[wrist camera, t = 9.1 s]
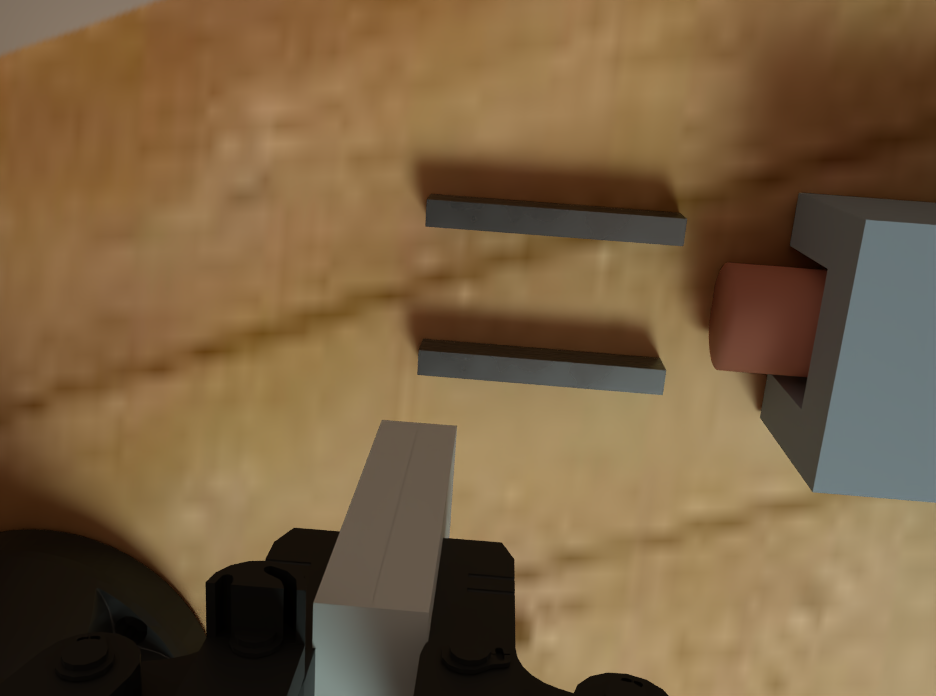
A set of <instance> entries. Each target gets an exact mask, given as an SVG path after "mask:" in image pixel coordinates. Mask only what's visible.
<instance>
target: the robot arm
mask: <svg viewBox="0 0 936 696" xmlns="http://www.w3.org/2000/svg"><path fill="white" fill-rule="evenodd" d="M456 433H457V426H452V425H439V424H426V423H414V422H401V421H389V420H382V421H381V424H380V426H379V429H378V432H377V434H376V437H375V440H374V442H373V445H372V448H371V450H370V453H369V456H368V458H367V461H366V464H365V466H364V469H363V472H362V474H361V477H360V480H359V482H358V485H357V488H356V490H355V493H354V496H353V498H352V501H351V504H350V506H349V509H348V512H347V514H346V517H345V520H344V522H343V525H342V528H341V530H340V532H339V531H327V530H315V529H302V528H293V529H292V530H290V531H289V532H288V533H286V534H285V535H283V536H282V537H280V538H279V539H278V540H276V541H275V542H274V543H273V545H272V547H271V549H270V551H269V553H268V555H267V557H266V561H248V562H243V563H239V564H234V565H230V566H228V567H226V568H224V569H222V570H220V571H218V572H216V573H215V574H214V575H213V576H212V577H211V578H210V579H209V580H208V581H207V582H206V630H207V637H206V635H205V633H204V631H203V629H202V627H201V626H200V624H199V622H198V620H197V619H196V617H195V616H194V614H193V613H192V611H191V610H190V609H189V607H188V606H187V605H186V604H185V602H184V601H183V600H182V599H181V598H180V596H179V595H178V594H177V593H176V592H175V591H174V590H173V589H172V588H171V587H170V586H169V585H168V584H167V583H166V582H165V581H164V580H162V579H161V578H160V577H159V576H158V575H156V574H155V573H154V572H153V571H151V570H150V569H149V568H147V567H146V566H144V565H143V564H141V563H140V562H138V561H137V560H135V559H134V558H132V557H130V556H128V555H126V554H125V553H123V552H121V551H119V550H117V549H115V548H113V547H110V546H108V545H106V544H103V543H101V542H98V541H95V540H92V539H89V538H86V537H82V536H78V535H74V534H70V533H64V532H59V531H51V530H36V529H31V530H12V531H5V532H0V696H668V695H667V693H666V692H665V691H664V690H663V689H661V688H659V687H658V686H656V685H654V684H653V683H651V682H649V681H648V680H645V679H642V678H639V677H635V676H632V675H629V674H620V673H604V674H599V675H595V676H590V677H589V678H587V679H586V680H584V681H583V682H581V683H580V684H578V685H577V687H576V690H575V692H574V693H571V692H568V691H565V690H561V689H558V688H556V687H553V686H551V685H548V684H546V683H544V682H542V681H540V680H539V679H537V678H535V677H534V676H532V675H531V674H530V673H529V672H528V671H527V670H526V669H525V668H524V667H523V666H522V664H521V663H520V661H519V659H518V657H517V654H516V649H515V595H514V594H515V581H514V558H513V557H512V556H511V554H510V553H509V552H508V550H507V549H506V548H505V546H504V545H503V544H502V543H500V542H488V541H475V540H463V539H451V538H449V534H450V520H451V505H452V491H453V476H454V462H455V447H456Z"/></svg>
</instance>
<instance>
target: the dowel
mask: <svg viewBox="0 0 936 696" xmlns="http://www.w3.org/2000/svg"><path fill="white" fill-rule="evenodd" d="M827 271H828V270H819V269H806V268H793V267H780V266H767V265H754V264H741V263H725V264H724V265H723V267H722V268H721V270H720V272H719V275H718V277H717V280H716V284H715V288H714V295H713V302H712V308H711V315H710V322H709V348H710V356H711V360H712V364H713V366H714V368H715V369H716V370H723V371H735V372H748V373H760V374H772V375H785V376H797V377H808V372H809V367H810V361H811V356H812V351H813V345H814V340H815V335H816V329H817V324H818V319H819V313H820V308H821V303H822V297H823V292H824V287H825V281H826V276H827Z"/></svg>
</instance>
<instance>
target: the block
mask: <svg viewBox="0 0 936 696" xmlns="http://www.w3.org/2000/svg"><path fill="white" fill-rule="evenodd" d="M790 246H791V247H793V248H795V249H796V250H798V251H799V252H801V253H803V254H804V255H806V256H807V257H809V258H811V259H812V260H814V261H816V262H817V263H819V264H820V265H822V266H824V267H825V268H827V269H828V271H827V276H826V281H825V287H824V292H823V297H822V303H821V308H820V313H819V319H818V324H817V329H816V335H815V340H814V345H813V351H812V356H811V361H810V367H809V372H808V377H797V376H785V375H772V374H768V375H767V381H766V386H765V392H764V398H763V404H762V409H761V415H760V418H761V420H762V421H763V423H764V424H765V425H766V427H767V428H768V430H769V431H770V433H771V434H772V435H773V437H774V438H775V440H776V441H777V442H778V444H779V445H780V447H781V448H782V449H783V451H784V452H785V454H786V455H787V457H788V458H789V459H790V461H791V462H792V464H793V465H794V466H795V468H796V469H797V471H798V472H799V473H800V475H801V476H802V478H803V479H804V481H805V482H806V483H807V485H808V486H809V488H810V489H811V490H812V492H818V493H829V494H841V495H853V496H864V497H876V498H888V499H899V500H911V501H923V502H934V503H936V203H932V202H918V201H905V200H892V199H878V198H865V197H851V196H838V195H824V194H811V193H799V196H798V201H797V207H796V213H795V219H794V225H793V230H792V236H791V242H790Z"/></svg>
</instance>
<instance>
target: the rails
mask: <svg viewBox="0 0 936 696" xmlns="http://www.w3.org/2000/svg"><path fill="white" fill-rule="evenodd" d="M686 224H687V218H685V217H684V216H683V215H682V214H681V213H677V212H664V211H650V210H637V209H624V208H610V207H597V206H584V205H571V204H557V203H544V202H531V201H518V200H504V199H491V198H478V197H464V196H451V195H438V194H431V195H430V196H429V197H428V198H427V206H426V225H425V226H427V227H440V228H453V229H466V230H479V231H492V232H505V233H518V234H531V235H544V236H557V237H570V238H583V239H597V240H610V241H623V242H636V243H649V244H662V245H675V246H683V245H684V238H685V231H686ZM417 375H426V376H438V377H450V378H462V379H475V380H487V381H499V382H511V383H523V384H535V385H547V386H560V387H572V388H584V389H596V390H608V391H620V392H632V393H645V394H657V395H663V390H664V382H665V375H666V369H665V367H664V365H663V363H662V361H661V359H660V358H654V357H642V356H630V355H617V354H605V353H592V352H580V351H568V350H555V349H543V348H531V347H518V346H506V345H494V344H481V343H469V342H457V341H444V340H432V339H423V340H422V343H421V345H420V348H419V354H418V372H417Z"/></svg>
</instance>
